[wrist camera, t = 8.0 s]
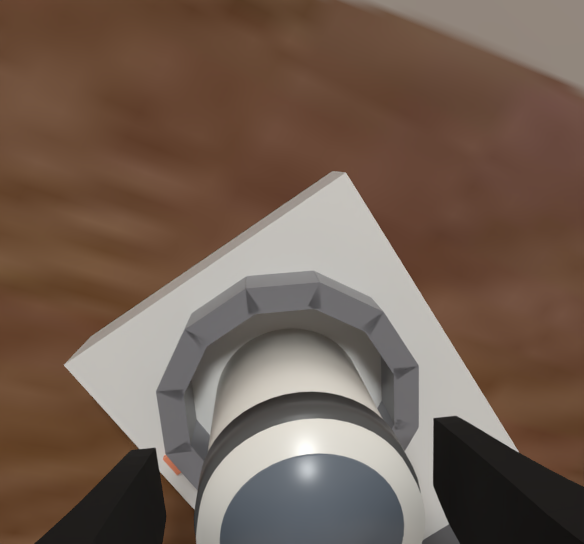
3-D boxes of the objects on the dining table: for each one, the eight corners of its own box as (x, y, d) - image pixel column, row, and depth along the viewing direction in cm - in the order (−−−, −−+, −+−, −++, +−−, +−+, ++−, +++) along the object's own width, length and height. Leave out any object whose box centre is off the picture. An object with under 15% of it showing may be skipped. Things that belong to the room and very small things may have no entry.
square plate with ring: (541, 504, 21) (607, 583, 17) (341, 625, 21) (360, 728, 17) (332, 171, 16) (356, 173, 12) (91, 336, 17) (42, 386, 13)
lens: (360, 318, 15) (431, 415, 9) (365, 453, 16) (430, 615, 10) (205, 333, 15) (175, 444, 9) (221, 470, 16) (205, 648, 10)
